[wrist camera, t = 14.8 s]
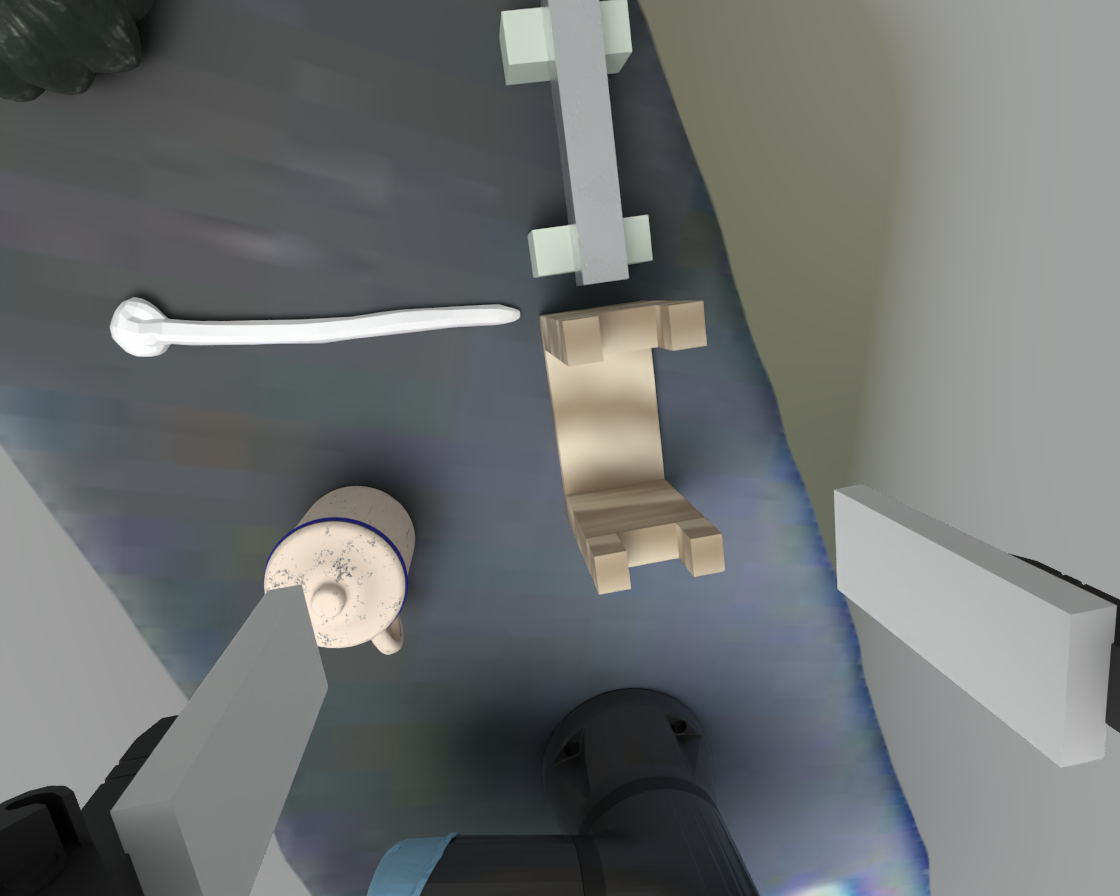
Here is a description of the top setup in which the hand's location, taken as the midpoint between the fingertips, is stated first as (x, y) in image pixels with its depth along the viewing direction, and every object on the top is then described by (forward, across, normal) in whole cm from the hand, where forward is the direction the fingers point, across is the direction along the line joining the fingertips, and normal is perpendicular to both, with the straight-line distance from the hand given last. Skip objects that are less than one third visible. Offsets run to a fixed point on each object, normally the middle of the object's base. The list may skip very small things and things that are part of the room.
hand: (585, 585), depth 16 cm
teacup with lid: (+35, +13, +11) cm, 39 cm away
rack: (+35, -7, +3) cm, 36 cm away
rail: (+31, -7, -16) cm, 35 cm away
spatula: (+35, +12, -8) cm, 38 cm away
